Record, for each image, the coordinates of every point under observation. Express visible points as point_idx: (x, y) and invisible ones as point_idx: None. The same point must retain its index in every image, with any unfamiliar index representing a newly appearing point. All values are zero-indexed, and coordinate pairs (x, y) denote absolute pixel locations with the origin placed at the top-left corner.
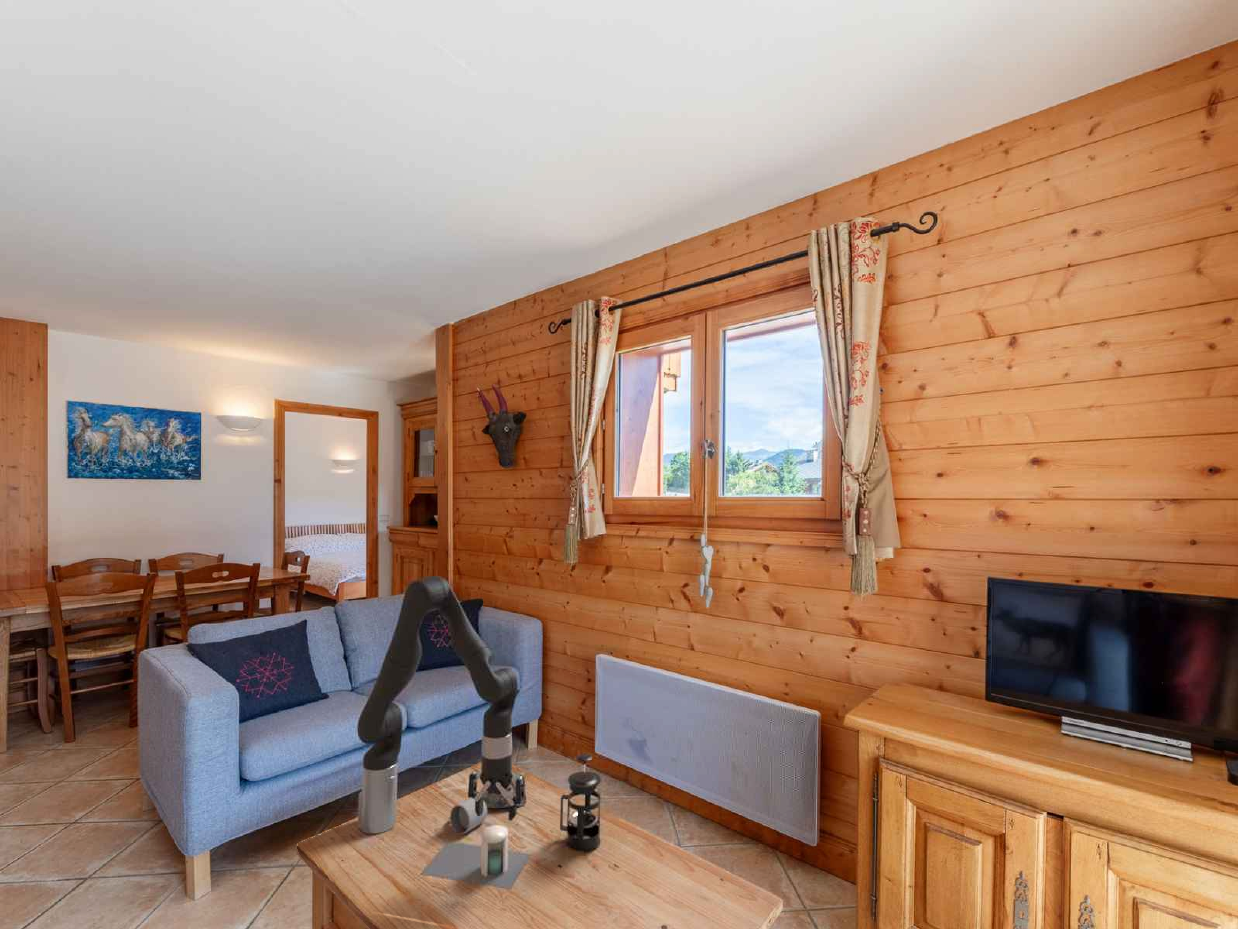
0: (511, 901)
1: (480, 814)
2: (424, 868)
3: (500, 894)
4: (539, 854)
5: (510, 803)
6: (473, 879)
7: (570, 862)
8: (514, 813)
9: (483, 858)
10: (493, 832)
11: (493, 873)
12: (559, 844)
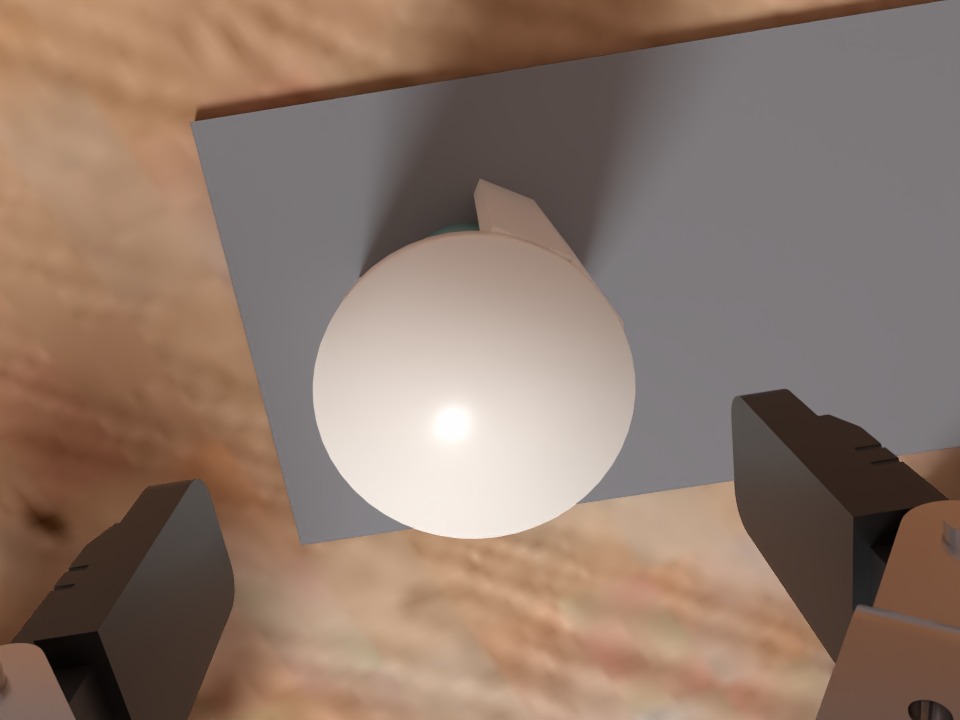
0: (110, 6)
1: (739, 436)
2: None
3: (247, 49)
4: (262, 573)
5: (15, 679)
6: (552, 104)
7: (3, 579)
8: (64, 578)
9: (522, 210)
10: (493, 391)
11: (436, 232)
12: (199, 710)
